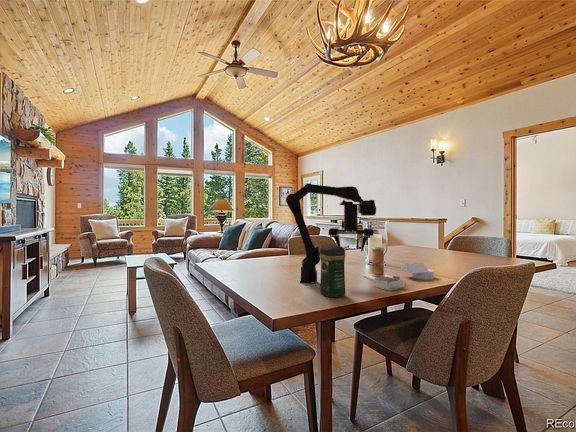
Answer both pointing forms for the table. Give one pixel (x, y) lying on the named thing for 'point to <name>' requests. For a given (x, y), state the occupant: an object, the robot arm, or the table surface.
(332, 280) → the coffee jar
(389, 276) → the mat
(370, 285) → the table surface
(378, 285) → the white open box
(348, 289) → the table surface
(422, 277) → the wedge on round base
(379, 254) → the brown cylinder
